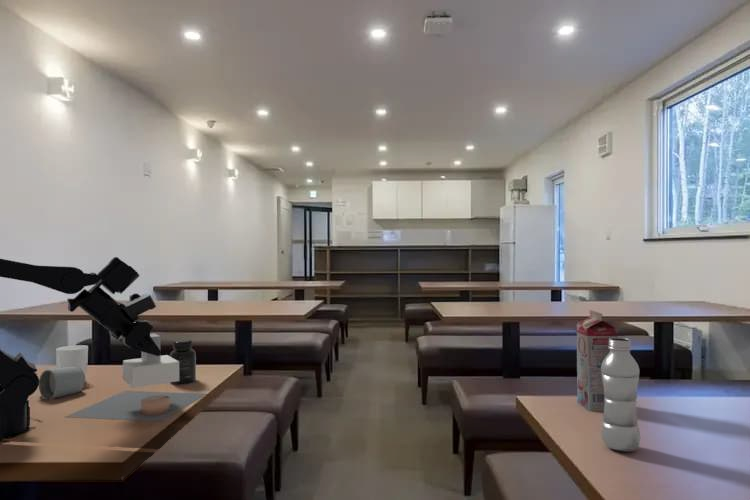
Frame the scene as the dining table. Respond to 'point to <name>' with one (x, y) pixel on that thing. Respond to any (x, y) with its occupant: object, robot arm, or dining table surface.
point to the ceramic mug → (61, 382)
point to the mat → (135, 406)
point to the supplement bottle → (184, 361)
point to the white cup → (73, 357)
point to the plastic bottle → (620, 397)
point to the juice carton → (592, 360)
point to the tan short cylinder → (155, 405)
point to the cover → (150, 368)
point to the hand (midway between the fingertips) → (157, 352)
